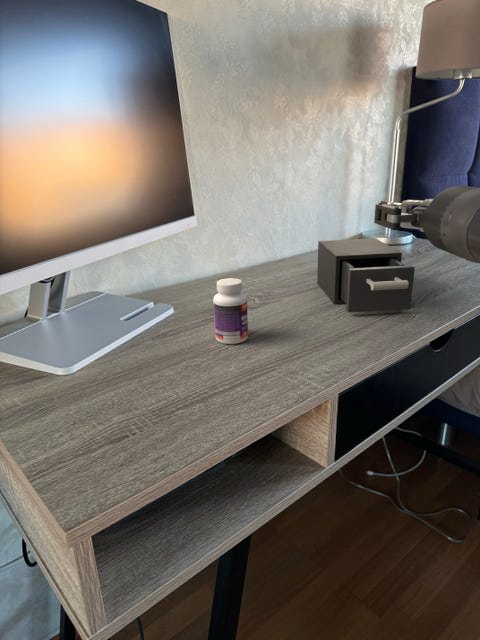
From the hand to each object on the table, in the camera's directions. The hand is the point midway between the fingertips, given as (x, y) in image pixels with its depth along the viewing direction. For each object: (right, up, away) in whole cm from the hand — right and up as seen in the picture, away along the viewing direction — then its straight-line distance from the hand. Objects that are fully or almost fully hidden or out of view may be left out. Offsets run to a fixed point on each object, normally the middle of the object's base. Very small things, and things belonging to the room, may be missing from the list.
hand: (411, 207), depth 63 cm
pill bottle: (-26, -19, +10) cm, 34 cm away
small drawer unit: (0, -10, +30) cm, 32 cm away
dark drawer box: (0, -13, +21) cm, 25 cm away
